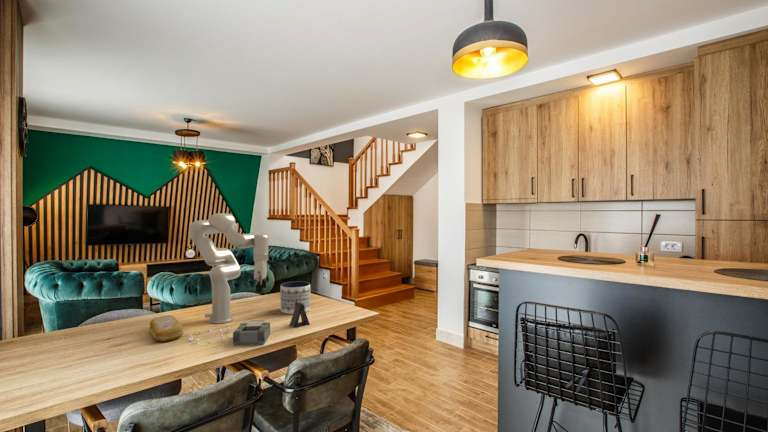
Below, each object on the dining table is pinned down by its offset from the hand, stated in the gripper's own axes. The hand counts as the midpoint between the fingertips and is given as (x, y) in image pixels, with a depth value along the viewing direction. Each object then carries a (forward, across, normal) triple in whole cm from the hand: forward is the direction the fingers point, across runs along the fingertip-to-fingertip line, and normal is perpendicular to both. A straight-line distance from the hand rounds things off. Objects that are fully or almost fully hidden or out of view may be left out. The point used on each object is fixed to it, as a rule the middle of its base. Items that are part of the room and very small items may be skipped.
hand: (261, 289), depth 196 cm
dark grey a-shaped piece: (+20, -2, +20) cm, 29 cm away
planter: (+20, -31, +14) cm, 40 cm away
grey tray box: (+18, +14, 0) cm, 23 cm away
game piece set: (+21, +13, -22) cm, 33 cm away
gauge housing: (+20, +19, 0) cm, 28 cm away
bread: (+21, +7, -45) cm, 50 cm away
